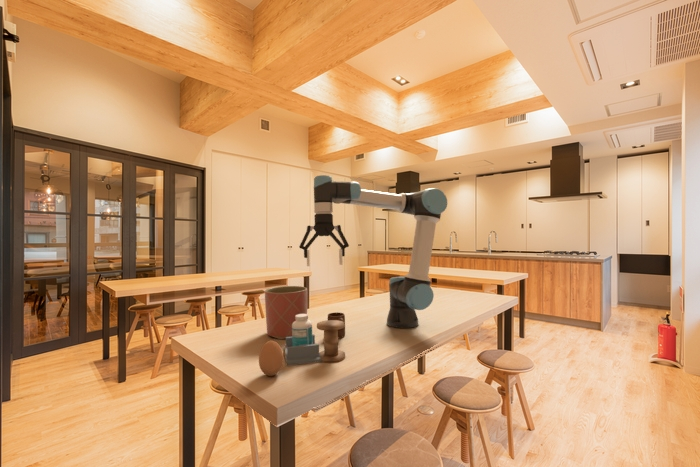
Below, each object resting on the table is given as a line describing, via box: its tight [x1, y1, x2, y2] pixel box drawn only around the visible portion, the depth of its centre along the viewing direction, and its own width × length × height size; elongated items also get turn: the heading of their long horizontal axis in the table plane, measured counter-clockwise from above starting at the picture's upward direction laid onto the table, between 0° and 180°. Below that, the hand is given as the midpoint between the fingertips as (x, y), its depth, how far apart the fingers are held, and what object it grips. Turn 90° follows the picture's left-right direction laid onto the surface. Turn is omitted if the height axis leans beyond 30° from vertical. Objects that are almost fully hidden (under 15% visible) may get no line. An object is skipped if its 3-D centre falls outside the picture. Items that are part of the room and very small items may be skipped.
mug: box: [327, 312, 346, 339], centre depth 137 cm, size 12×8×9 cm, turn 23°
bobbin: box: [316, 319, 346, 364], centre depth 114 cm, size 10×10×12 cm
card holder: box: [284, 333, 323, 367], centre depth 118 cm, size 12×18×5 cm, turn 14°
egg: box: [258, 340, 284, 377], centre depth 101 cm, size 8×8×11 cm
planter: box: [264, 285, 308, 341], centre depth 144 cm, size 19×19×20 cm
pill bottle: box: [291, 313, 313, 346], centre depth 118 cm, size 8×7×14 cm
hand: (324, 265), depth 130 cm, fingers open, 13 cm apart
